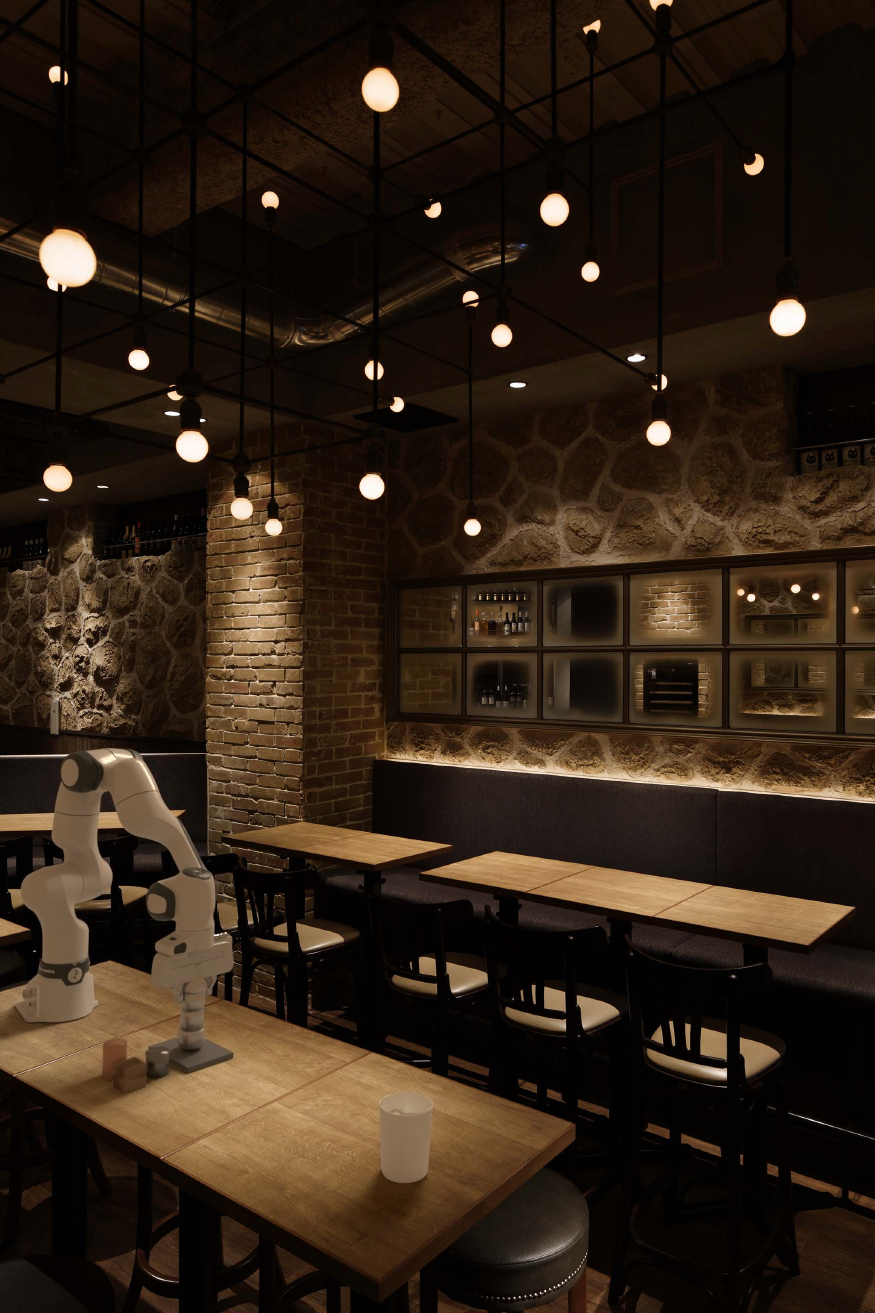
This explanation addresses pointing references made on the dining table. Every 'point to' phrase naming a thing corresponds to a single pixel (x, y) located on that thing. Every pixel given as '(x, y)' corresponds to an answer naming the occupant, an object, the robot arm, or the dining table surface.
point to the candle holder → (405, 1135)
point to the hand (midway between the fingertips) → (192, 998)
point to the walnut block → (129, 1075)
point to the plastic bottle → (192, 1012)
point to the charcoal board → (194, 1055)
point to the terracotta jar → (113, 1056)
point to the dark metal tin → (157, 1062)
